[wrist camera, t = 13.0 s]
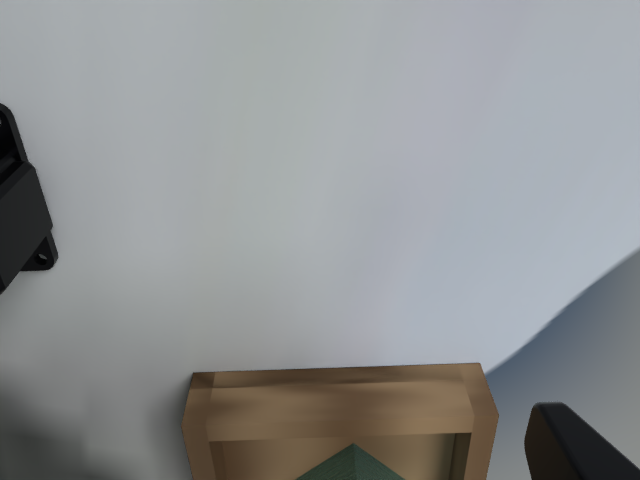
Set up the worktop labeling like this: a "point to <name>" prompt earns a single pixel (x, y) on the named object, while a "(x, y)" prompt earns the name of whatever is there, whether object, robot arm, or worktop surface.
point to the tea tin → (351, 467)
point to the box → (340, 421)
